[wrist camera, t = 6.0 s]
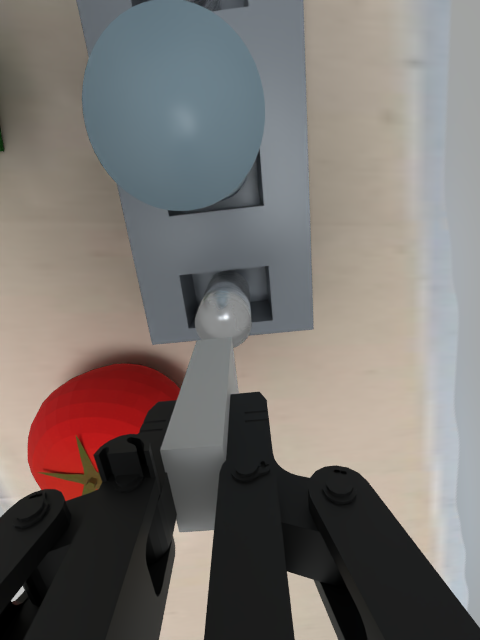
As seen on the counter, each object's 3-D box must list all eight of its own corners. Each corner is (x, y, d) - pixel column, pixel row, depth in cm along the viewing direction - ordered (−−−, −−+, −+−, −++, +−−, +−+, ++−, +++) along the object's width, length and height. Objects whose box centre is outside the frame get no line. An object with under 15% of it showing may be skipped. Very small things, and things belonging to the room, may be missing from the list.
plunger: (204, 273, 24) (190, 299, 18) (247, 268, 24) (248, 293, 18) (210, 313, 25) (199, 351, 19) (251, 309, 25) (253, 346, 19)
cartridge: (174, 129, 24) (58, 13, 9) (247, 120, 24) (256, -16, 9) (186, 207, 26) (107, 219, 11) (254, 199, 25) (271, 201, 10)
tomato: (218, 363, 32) (207, 437, 22) (195, 464, 36) (177, 562, 26) (69, 333, 31) (-12, 395, 21) (64, 440, 35) (-5, 533, 25)
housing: (103, -20, 22) (55, -96, 16) (284, -47, 21) (298, -135, 16) (169, 317, 30) (152, 344, 24) (300, 304, 29) (313, 329, 24)
